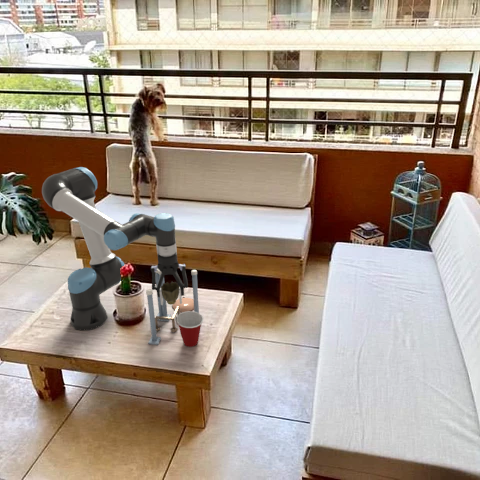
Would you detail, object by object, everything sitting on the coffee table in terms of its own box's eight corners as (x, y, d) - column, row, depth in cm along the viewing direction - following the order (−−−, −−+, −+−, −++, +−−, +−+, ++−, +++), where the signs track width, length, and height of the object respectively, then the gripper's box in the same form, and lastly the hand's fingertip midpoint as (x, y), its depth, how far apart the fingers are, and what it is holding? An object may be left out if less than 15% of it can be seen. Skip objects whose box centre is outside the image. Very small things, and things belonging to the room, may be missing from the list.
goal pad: (169, 311, 201) (169, 310, 201) (175, 298, 211) (175, 297, 211) (193, 312, 200) (193, 311, 200) (198, 299, 210) (198, 298, 209)
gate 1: (148, 344, 180) (142, 293, 170) (162, 315, 198) (157, 268, 188) (158, 344, 180) (152, 293, 170) (171, 316, 198) (166, 268, 187)
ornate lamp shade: (162, 308, 179) (160, 291, 175) (162, 299, 185) (160, 282, 182) (181, 306, 180) (179, 289, 176) (179, 297, 186) (178, 280, 183)
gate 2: (200, 322, 194) (197, 273, 183) (156, 319, 196) (150, 271, 185) (202, 316, 197) (199, 269, 187) (158, 313, 199) (153, 266, 189)
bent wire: (152, 331, 188) (151, 318, 185) (160, 315, 198) (158, 303, 196) (176, 332, 187) (175, 320, 184) (183, 316, 197) (182, 304, 194)
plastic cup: (201, 352, 175) (199, 327, 170) (174, 349, 177) (172, 325, 172) (207, 335, 185) (206, 311, 180) (182, 333, 187) (180, 309, 182)
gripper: (140, 258, 168) (146, 309, 178) (192, 255, 170) (195, 306, 180) (142, 249, 175) (147, 299, 185) (192, 247, 177) (195, 296, 187)
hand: (171, 302), depth 182 cm, fingers closed on ornate lamp shade, 7 cm apart
